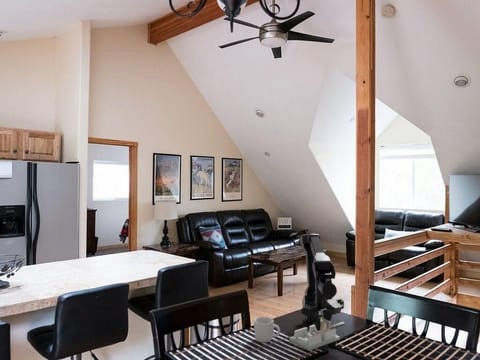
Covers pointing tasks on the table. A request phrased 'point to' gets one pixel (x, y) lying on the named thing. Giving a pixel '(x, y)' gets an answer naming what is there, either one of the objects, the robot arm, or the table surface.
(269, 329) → the cup
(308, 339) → the board
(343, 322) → the lead
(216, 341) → the table surface
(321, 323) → the plug
